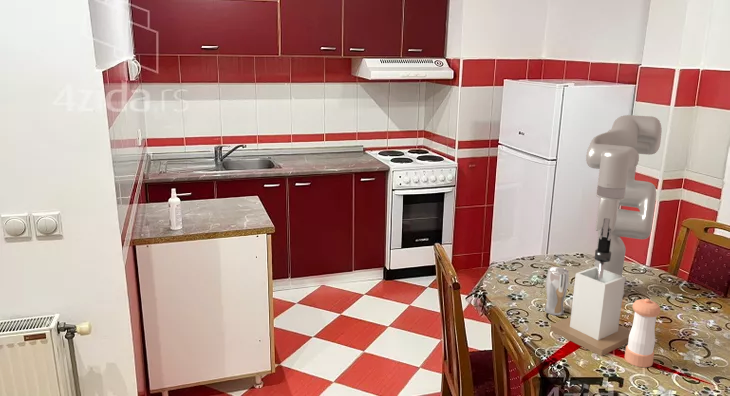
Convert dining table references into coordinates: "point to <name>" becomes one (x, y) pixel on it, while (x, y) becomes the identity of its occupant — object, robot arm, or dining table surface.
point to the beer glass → (556, 289)
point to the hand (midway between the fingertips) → (603, 251)
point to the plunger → (601, 262)
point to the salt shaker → (642, 333)
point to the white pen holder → (595, 313)
